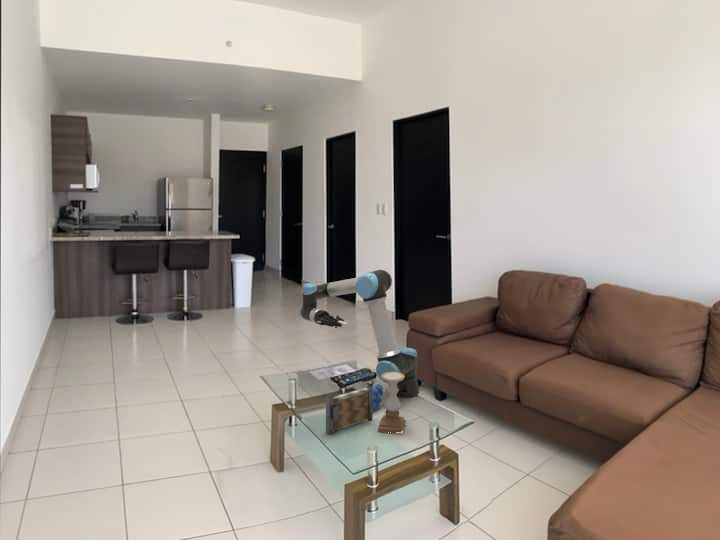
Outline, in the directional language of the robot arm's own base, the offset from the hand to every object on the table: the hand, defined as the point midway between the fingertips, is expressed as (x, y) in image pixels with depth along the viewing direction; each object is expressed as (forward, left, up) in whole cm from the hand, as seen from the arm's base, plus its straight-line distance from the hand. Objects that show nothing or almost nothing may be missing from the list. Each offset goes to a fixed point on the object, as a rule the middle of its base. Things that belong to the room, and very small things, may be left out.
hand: (346, 326), depth 252 cm
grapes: (-5, +15, -38) cm, 41 cm away
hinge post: (+4, +23, -38) cm, 44 cm away
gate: (+14, +23, -37) cm, 46 cm away
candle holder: (+1, +35, -38) cm, 52 cm away
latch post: (+24, +24, -38) cm, 51 cm away
